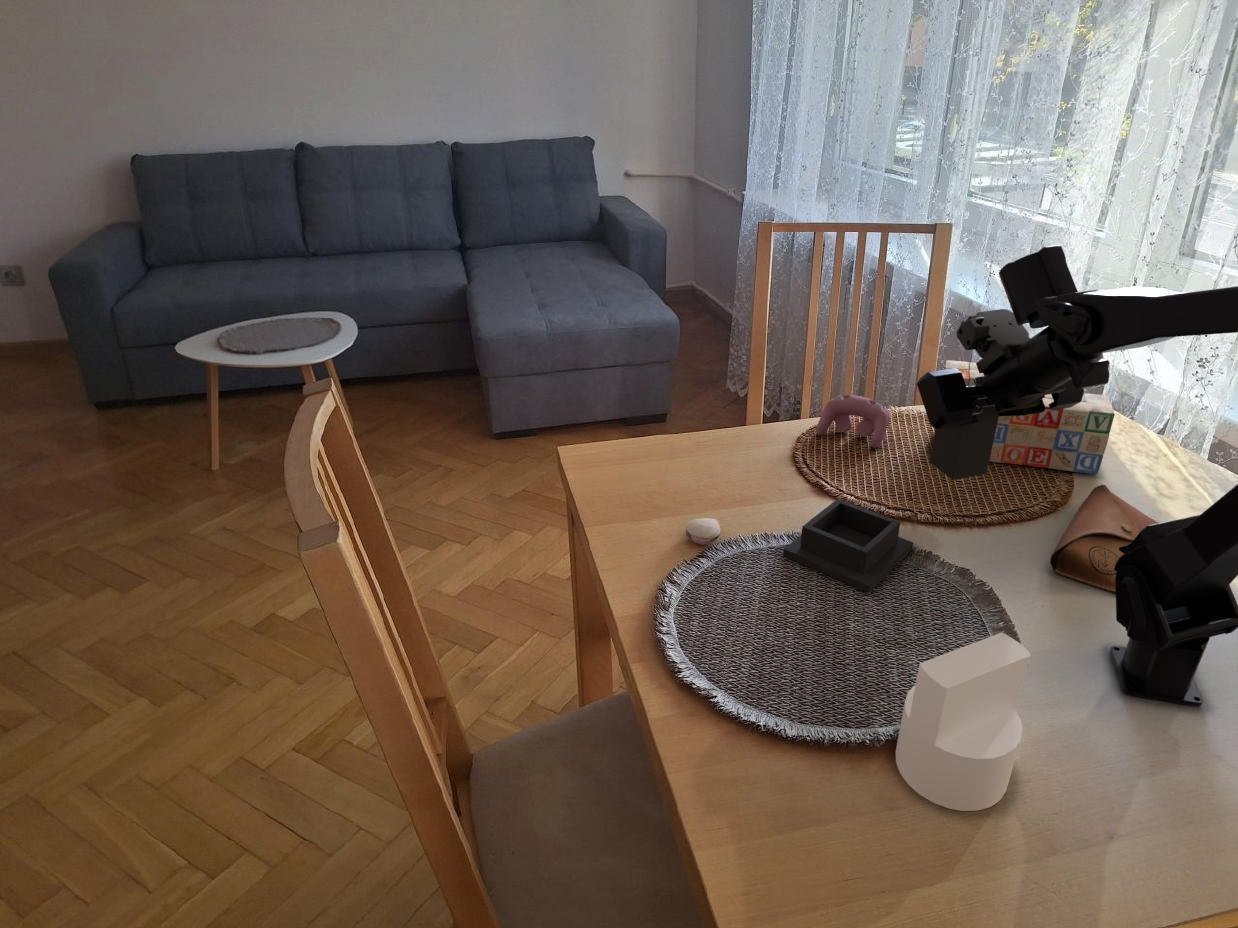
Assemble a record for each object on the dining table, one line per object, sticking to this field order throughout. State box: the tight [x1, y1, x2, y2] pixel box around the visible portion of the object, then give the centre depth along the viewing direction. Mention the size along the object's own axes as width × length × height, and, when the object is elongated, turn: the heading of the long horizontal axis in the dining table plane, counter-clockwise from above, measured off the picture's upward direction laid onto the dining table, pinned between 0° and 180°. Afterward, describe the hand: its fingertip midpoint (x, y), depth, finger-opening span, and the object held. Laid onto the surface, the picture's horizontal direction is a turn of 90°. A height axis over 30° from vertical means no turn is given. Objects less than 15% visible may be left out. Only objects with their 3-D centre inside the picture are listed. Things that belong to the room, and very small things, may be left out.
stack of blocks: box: [932, 359, 1116, 475], centre depth 115 cm, size 21×6×12 cm, turn 70°
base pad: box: [782, 498, 914, 593], centre depth 97 cm, size 11×11×4 cm
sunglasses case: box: [1049, 484, 1160, 593], centre depth 97 cm, size 18×7×7 cm, turn 141°
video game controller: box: [816, 394, 891, 449], centre depth 123 cm, size 10×5×7 cm, turn 58°
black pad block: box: [929, 385, 1000, 481], centre depth 101 cm, size 5×5×10 cm
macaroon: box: [684, 517, 721, 546], centre depth 101 cm, size 4×5×2 cm
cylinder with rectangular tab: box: [895, 632, 1032, 812], centre depth 68 cm, size 9×9×12 cm
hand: (959, 415), depth 101 cm, fingers closed on black pad block, 5 cm apart
